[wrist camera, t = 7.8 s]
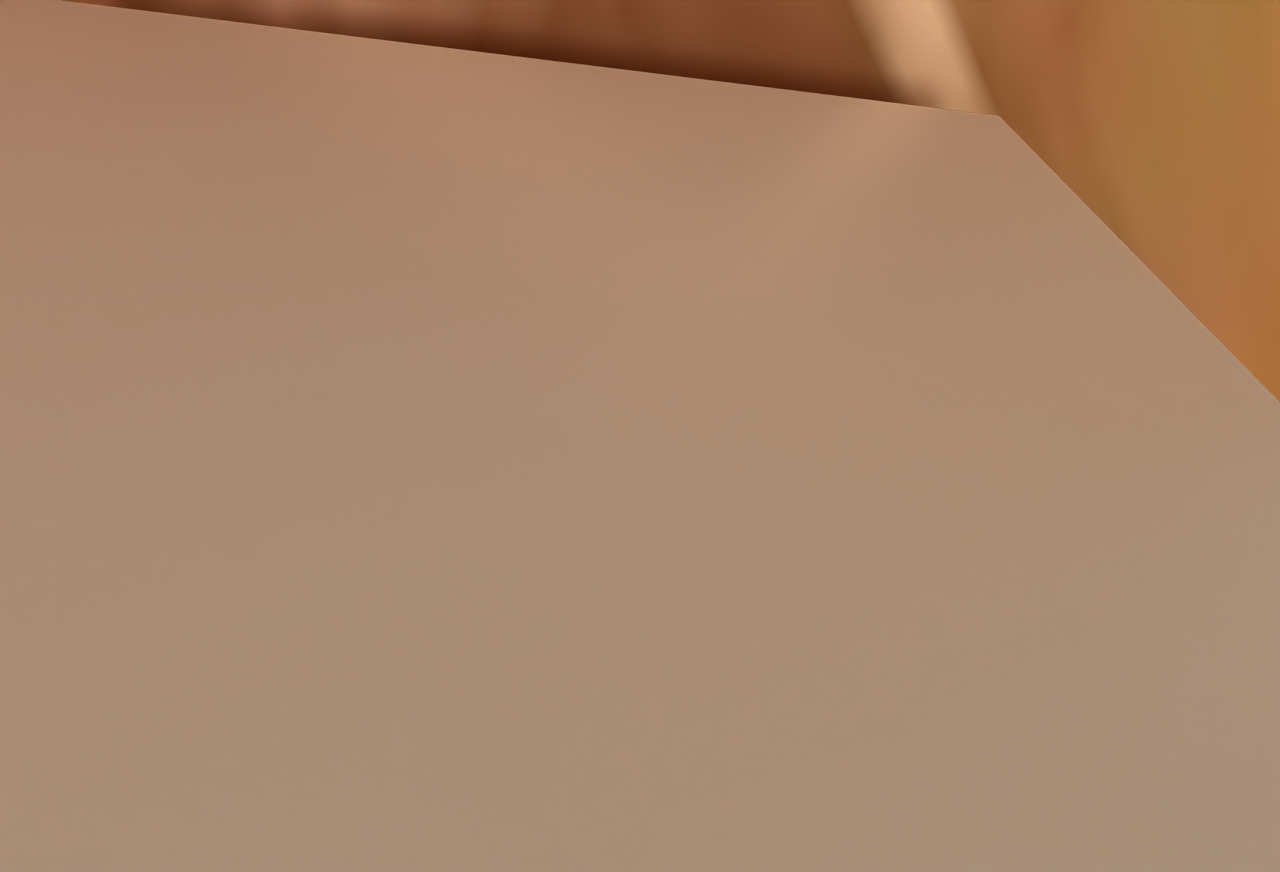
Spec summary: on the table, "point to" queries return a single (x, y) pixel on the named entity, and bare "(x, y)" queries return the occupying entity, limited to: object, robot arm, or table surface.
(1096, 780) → the equipment case
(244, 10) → the table surface
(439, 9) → the table surface
